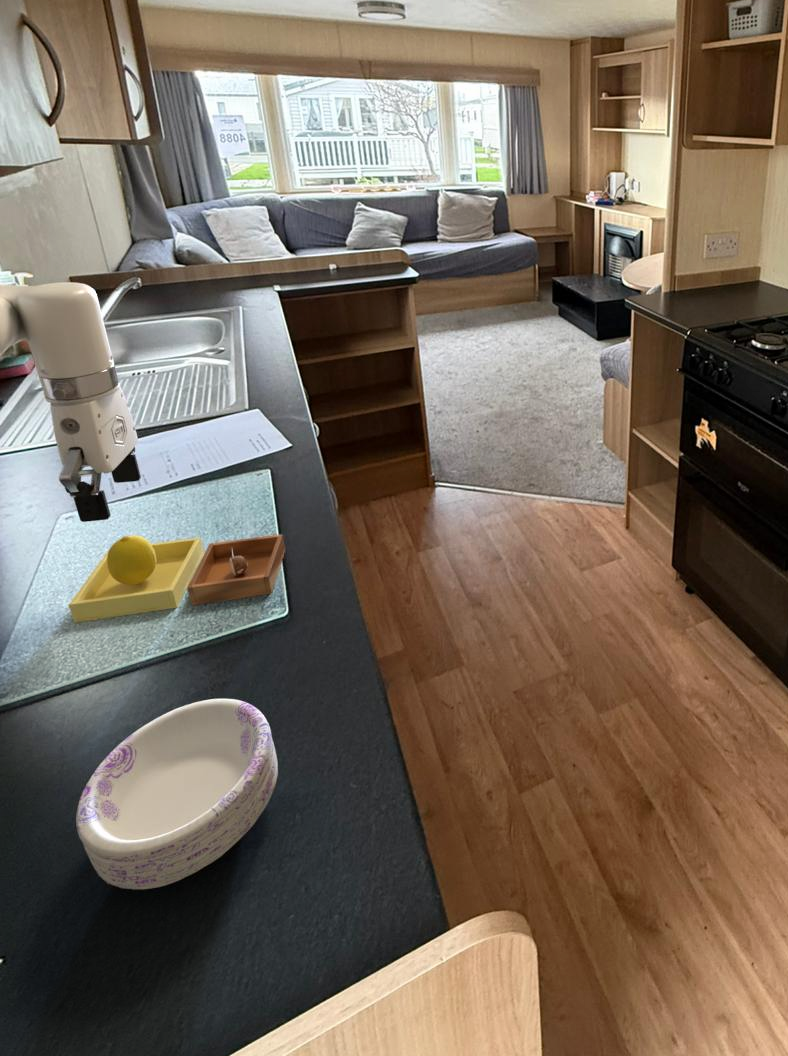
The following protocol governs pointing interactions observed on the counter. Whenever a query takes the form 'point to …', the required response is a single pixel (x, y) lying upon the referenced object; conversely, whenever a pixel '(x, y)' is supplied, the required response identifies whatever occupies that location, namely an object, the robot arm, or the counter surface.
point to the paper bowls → (177, 793)
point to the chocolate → (238, 564)
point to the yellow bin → (152, 594)
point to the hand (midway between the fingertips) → (112, 499)
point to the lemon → (131, 560)
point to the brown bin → (218, 577)
